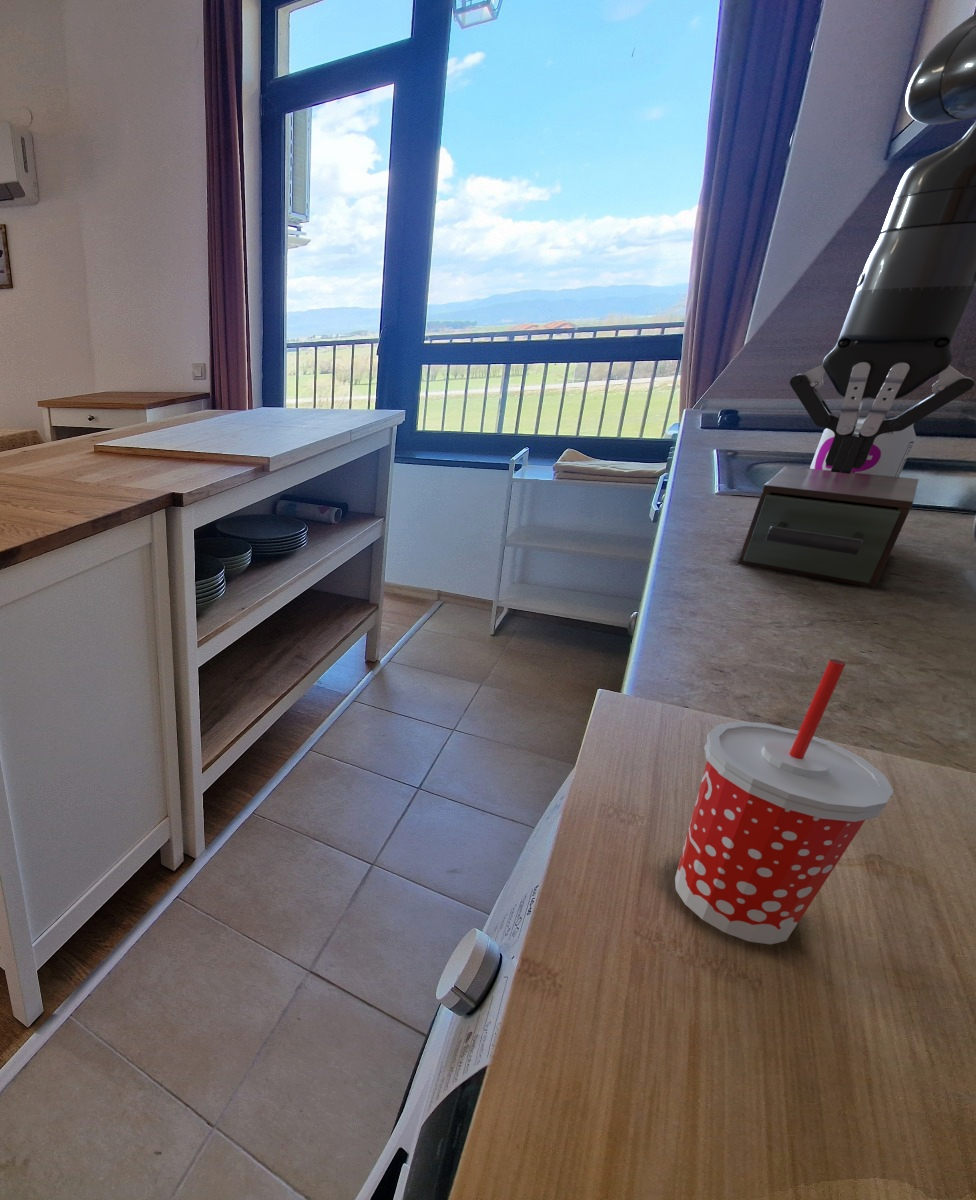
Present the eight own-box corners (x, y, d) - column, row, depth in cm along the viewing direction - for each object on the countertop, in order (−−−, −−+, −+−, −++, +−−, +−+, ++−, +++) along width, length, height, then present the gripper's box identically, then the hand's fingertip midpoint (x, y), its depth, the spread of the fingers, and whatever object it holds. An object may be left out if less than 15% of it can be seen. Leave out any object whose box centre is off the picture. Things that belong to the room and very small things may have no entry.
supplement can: (843, 547, 80) (893, 427, 74) (771, 529, 87) (811, 419, 81) (887, 540, 82) (939, 423, 76) (813, 524, 89) (855, 415, 83)
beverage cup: (702, 844, 35) (790, 620, 30) (841, 931, 30) (980, 679, 25) (629, 879, 33) (710, 646, 28) (766, 979, 28) (900, 716, 22)
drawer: (864, 598, 63) (896, 524, 60) (732, 572, 70) (755, 505, 67) (878, 554, 75) (906, 489, 72) (764, 536, 82) (785, 477, 79)
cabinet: (874, 588, 68) (913, 501, 64) (737, 563, 76) (764, 484, 72) (884, 556, 76) (918, 478, 73) (760, 537, 84) (785, 466, 81)
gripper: (1027, 280, 55) (937, 475, 62) (821, 290, 65) (763, 458, 71) (1033, 277, 51) (936, 487, 58) (811, 288, 60) (750, 468, 67)
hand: (840, 471), depth 65 cm, fingers closed
